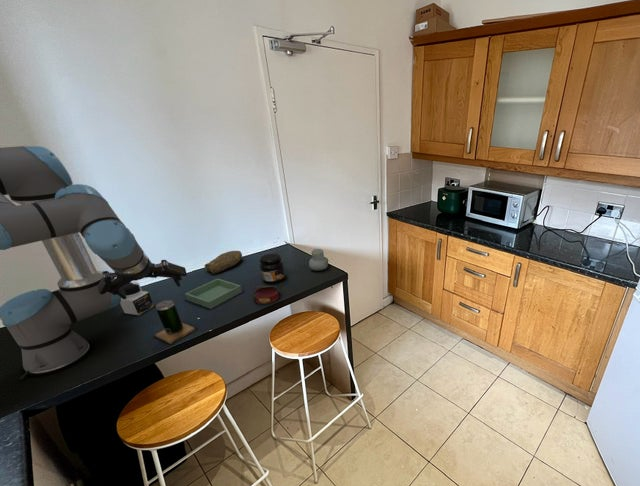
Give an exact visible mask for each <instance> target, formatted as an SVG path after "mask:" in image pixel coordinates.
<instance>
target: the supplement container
mask: <svg viewBox="0 0 640 486" xmlns="http://www.w3.org/2000/svg"><path fill="white" fill-rule="evenodd" d="M258 260H259V263H260V264H259V268H260V272H261V273H260V274H261V277H262V281H263V282H264V283H266V284H269V285H273V284H278V283H281V282H283V281H284V280H285V279H286V273H285V267H284V261H283V260H282V255H281V254H279V253H276V252H275V253H274V252H272V253H266V254H263V255H261V256H260V257H259V259H258Z"/></svg>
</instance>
